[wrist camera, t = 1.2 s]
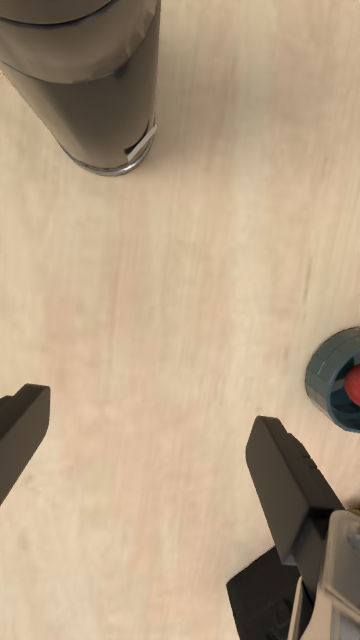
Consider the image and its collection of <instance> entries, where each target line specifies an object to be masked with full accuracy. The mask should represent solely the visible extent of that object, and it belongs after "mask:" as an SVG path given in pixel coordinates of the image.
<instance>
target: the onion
mask: <svg viewBox="0 0 360 640" xmlns="http://www.w3.org/2000/svg"><path fill="white" fill-rule="evenodd" d="M344 388H345V390H346V392H347V394H348V396H349V398H350V399H351V400H352V401H353V402H354V403H356V404H357V405H359V406H360V364H357V365H355V366H354V367H352V368H351V369H350V370H349V371H348V372H347V374H346V377H345V380H344Z"/></svg>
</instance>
